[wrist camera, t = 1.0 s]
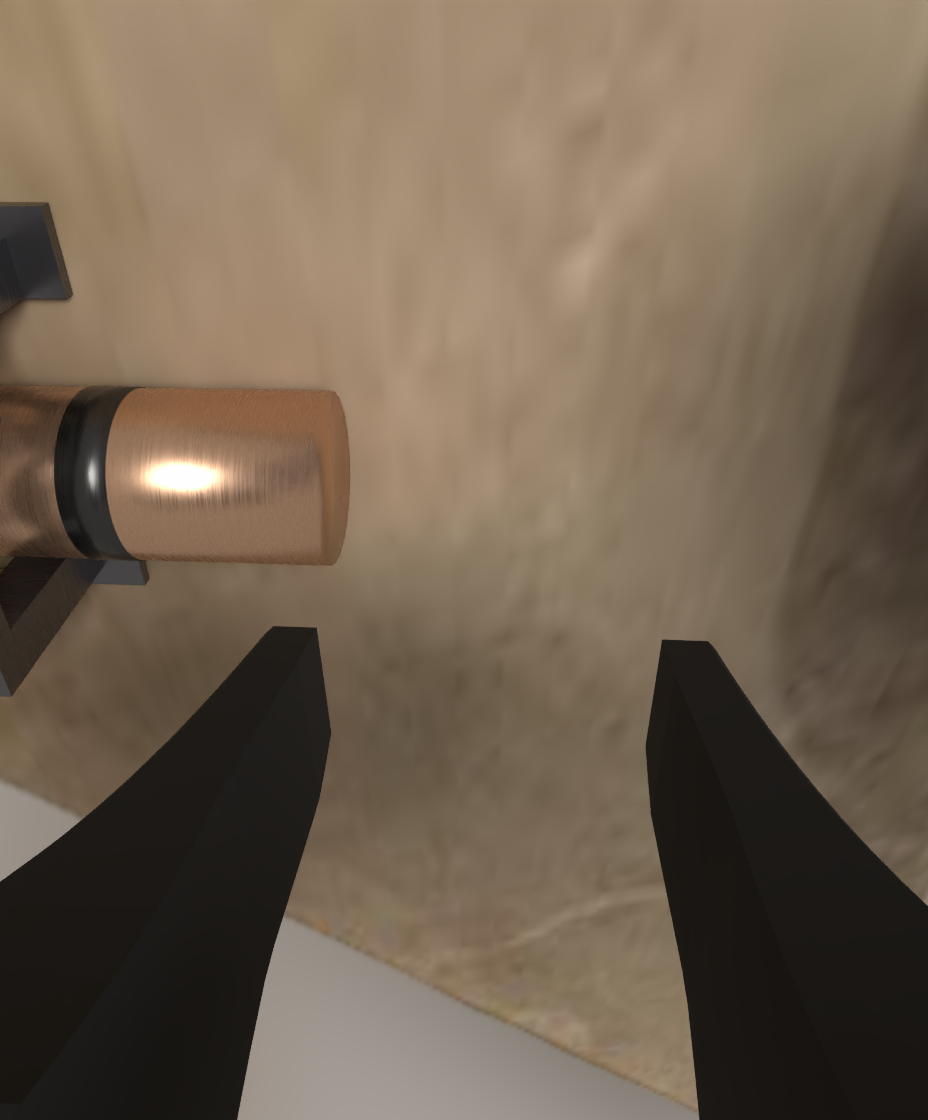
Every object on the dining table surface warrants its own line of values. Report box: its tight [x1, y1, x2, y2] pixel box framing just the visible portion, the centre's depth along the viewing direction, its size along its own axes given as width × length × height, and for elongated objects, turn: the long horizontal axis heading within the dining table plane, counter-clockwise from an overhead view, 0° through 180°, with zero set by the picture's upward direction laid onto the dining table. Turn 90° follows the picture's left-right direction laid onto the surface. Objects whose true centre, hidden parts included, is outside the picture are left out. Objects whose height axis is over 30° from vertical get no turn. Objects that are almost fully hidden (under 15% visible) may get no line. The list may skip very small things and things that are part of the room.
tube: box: [0, 385, 350, 566], centre depth 18 cm, size 9×4×4 cm, turn 91°
